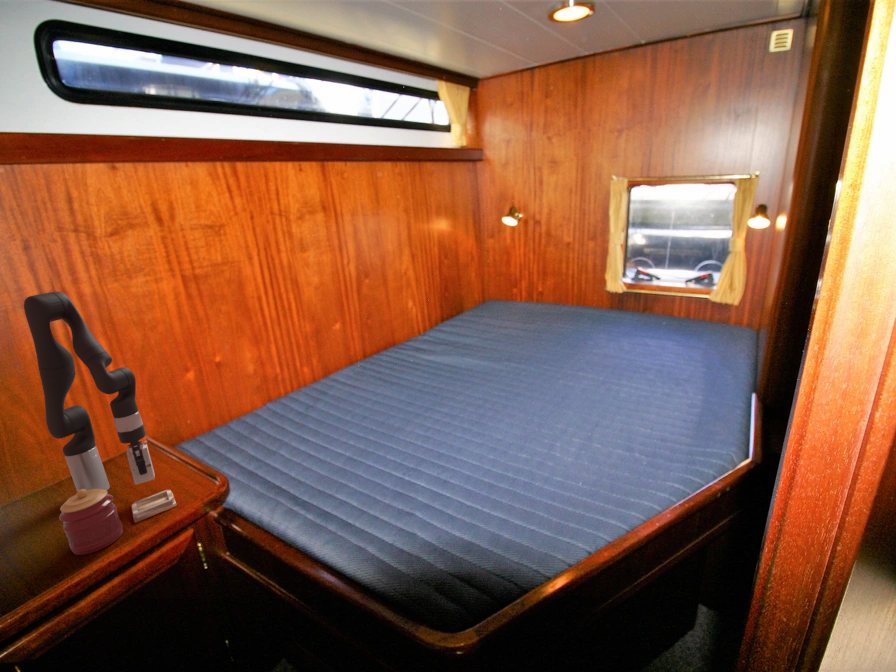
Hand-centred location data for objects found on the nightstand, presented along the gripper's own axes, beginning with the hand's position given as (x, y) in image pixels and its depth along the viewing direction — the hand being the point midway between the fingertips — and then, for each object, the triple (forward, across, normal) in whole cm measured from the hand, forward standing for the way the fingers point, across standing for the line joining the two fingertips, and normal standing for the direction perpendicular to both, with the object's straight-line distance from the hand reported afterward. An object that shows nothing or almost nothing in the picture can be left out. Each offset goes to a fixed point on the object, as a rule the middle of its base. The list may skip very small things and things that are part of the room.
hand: (143, 470), depth 158 cm
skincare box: (+4, 0, 0) cm, 4 cm away
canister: (+10, +18, -15) cm, 25 cm away
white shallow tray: (+10, +11, 0) cm, 14 cm away
